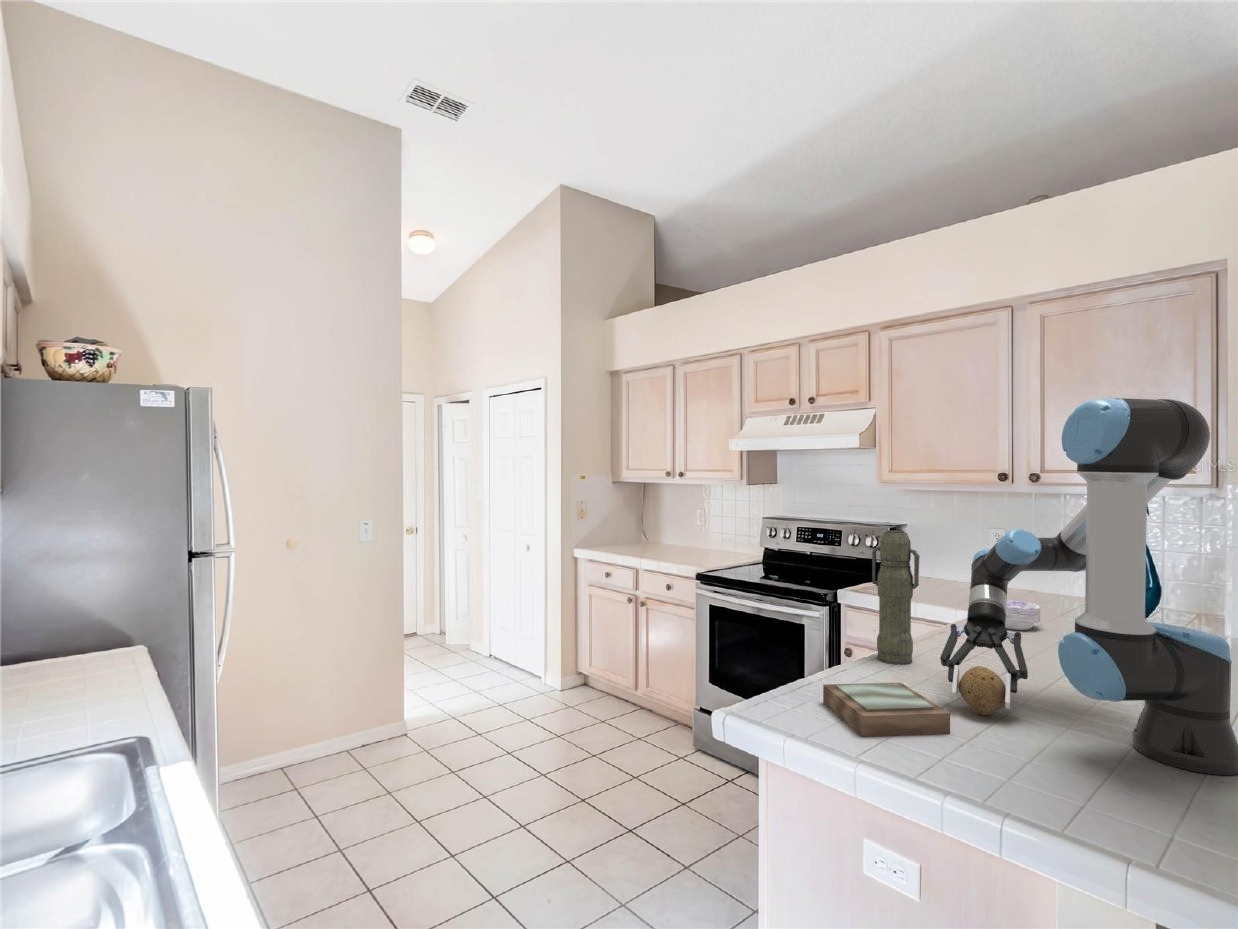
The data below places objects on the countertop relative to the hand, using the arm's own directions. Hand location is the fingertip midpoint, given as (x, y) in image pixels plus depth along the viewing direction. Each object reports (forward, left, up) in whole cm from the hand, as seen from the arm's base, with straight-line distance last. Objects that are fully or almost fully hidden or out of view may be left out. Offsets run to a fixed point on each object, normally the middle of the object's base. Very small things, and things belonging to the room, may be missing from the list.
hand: (980, 700), depth 133 cm
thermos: (+40, -4, -4) cm, 41 cm away
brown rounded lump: (+2, -2, -4) cm, 5 cm away
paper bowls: (+72, -63, -4) cm, 96 cm away
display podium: (+2, +20, -4) cm, 20 cm away
